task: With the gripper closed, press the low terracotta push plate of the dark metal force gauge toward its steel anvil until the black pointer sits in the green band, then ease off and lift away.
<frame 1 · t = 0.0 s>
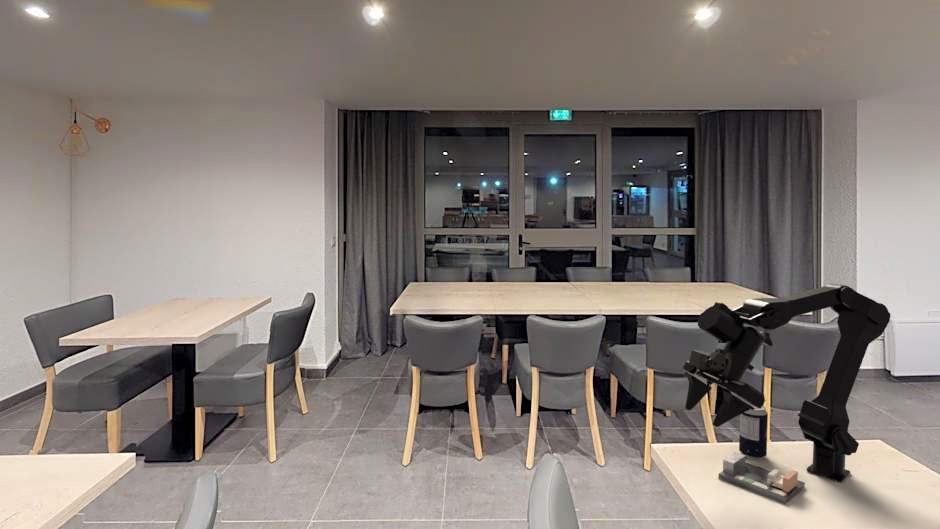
hand: (700, 417, 101), 15 cm above the table, tool tilted 35°, fingers open, 9 cm apart
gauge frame: (760, 482, 103), on the table
beverage can: (752, 456, 116), on the table
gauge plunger: (780, 479, 99), point 3 cm above the table, slide at 0.0 cm
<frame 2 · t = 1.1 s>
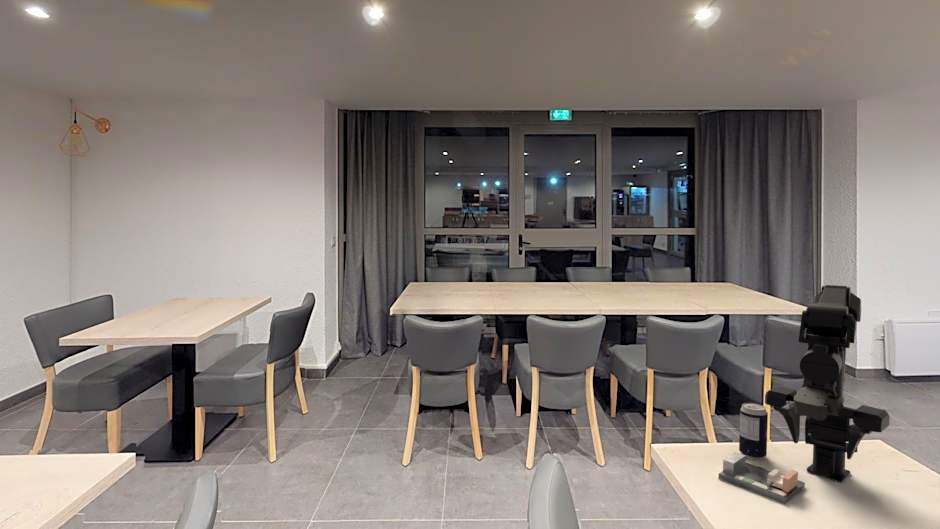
hand: (821, 450, 94), 11 cm above the table, tool pointing down, fingers open, 8 cm apart
nothing on the table moved.
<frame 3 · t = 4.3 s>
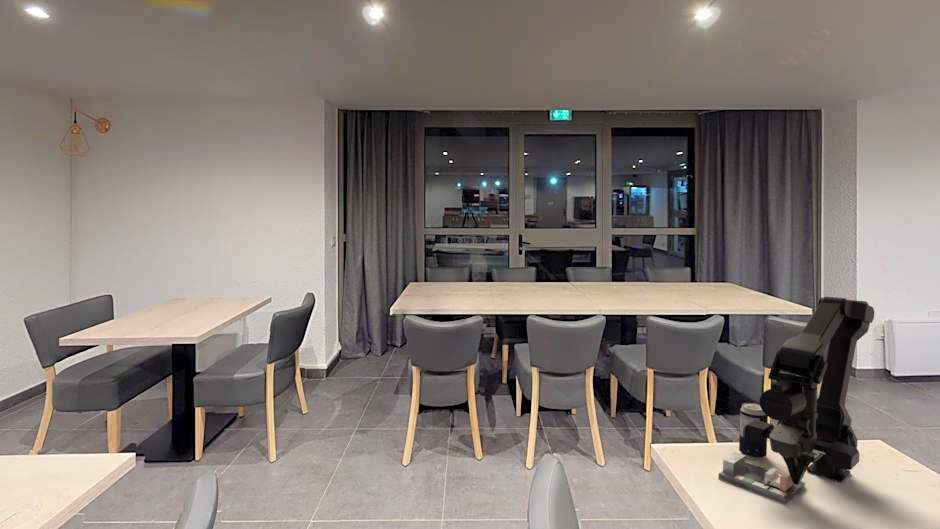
hand: (796, 483, 98), 3 cm above the table, tool pointing down, fingers closed
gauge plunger: (777, 478, 100), point 3 cm above the table, slide at 0.5 cm, touching gripper
everything else where it was.
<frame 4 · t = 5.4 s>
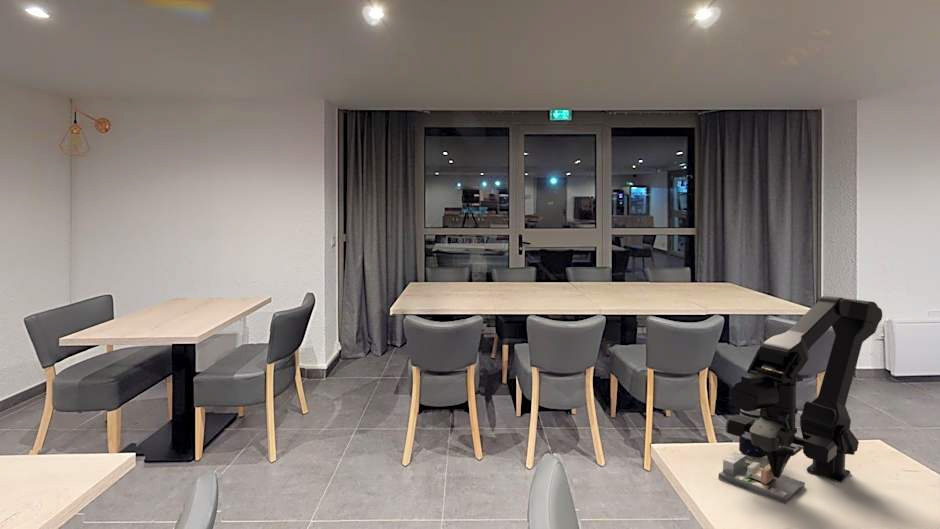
hand: (776, 476, 101), 3 cm above the table, tool pointing down, fingers closed
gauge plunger: (759, 472, 103), point 3 cm above the table, slide at 4.0 cm, touching gripper
everything else where it was.
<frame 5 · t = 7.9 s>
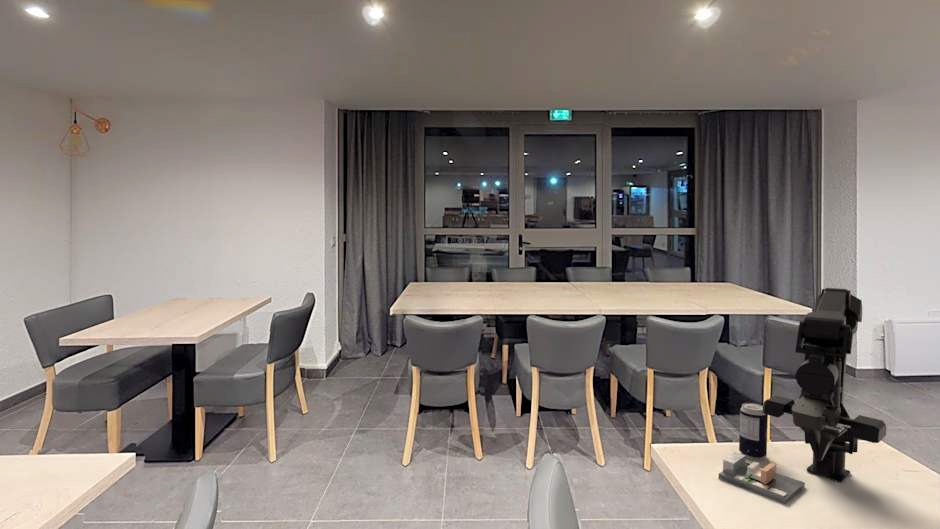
hand: (819, 460, 94), 9 cm above the table, tool pointing down, fingers closed
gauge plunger: (758, 471, 103), point 3 cm above the table, slide at 4.0 cm
everything else where it was.
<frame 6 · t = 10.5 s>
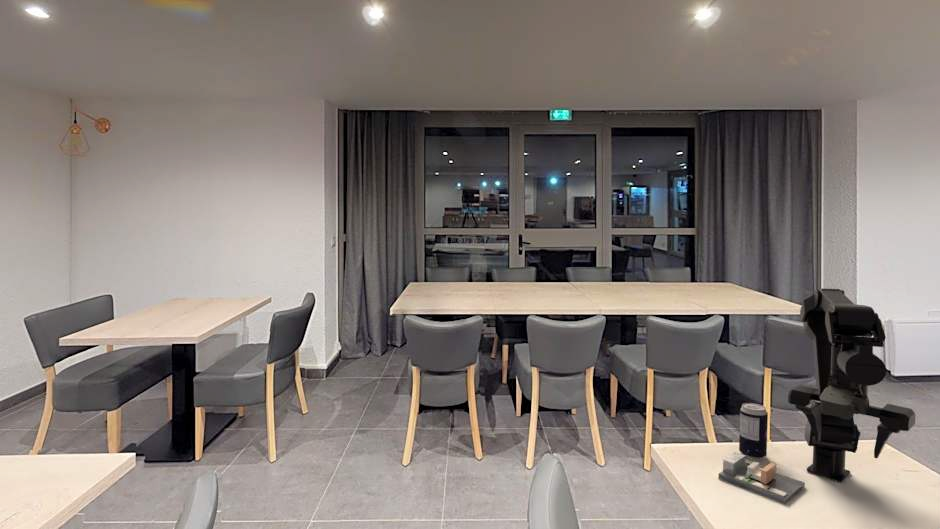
hand: (846, 449, 94), 11 cm above the table, tool pointing down, fingers open, 9 cm apart
nothing on the table moved.
at the end: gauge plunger slide at 4.0 cm; beverage can moved 0.2 cm from its start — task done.
